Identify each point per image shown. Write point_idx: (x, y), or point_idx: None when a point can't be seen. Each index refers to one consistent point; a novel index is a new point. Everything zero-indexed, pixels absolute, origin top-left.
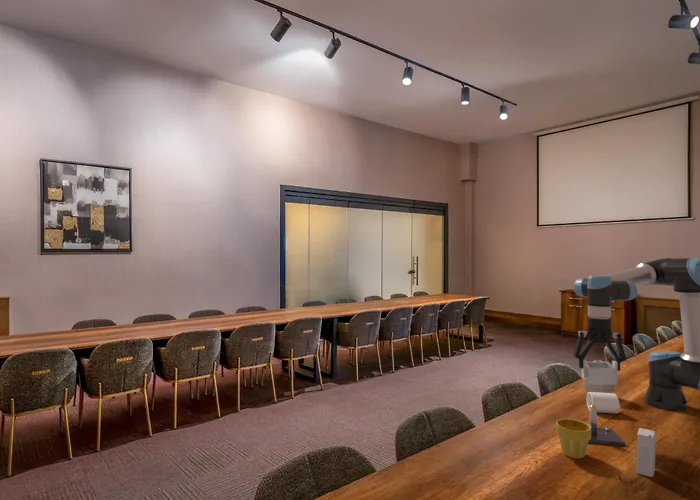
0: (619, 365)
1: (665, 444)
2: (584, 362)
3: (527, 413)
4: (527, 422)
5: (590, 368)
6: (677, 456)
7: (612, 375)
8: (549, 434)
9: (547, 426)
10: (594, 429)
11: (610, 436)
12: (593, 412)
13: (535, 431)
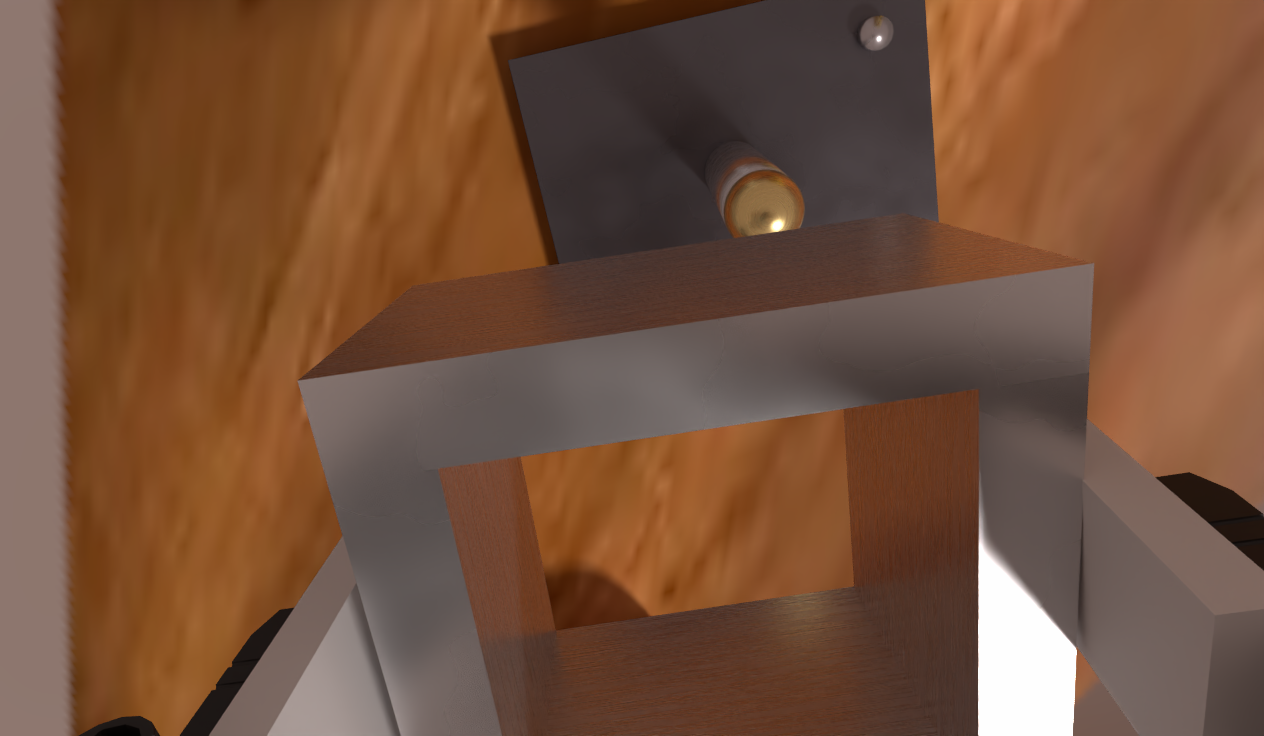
0: (214, 712)
1: (233, 233)
2: (1227, 553)
3: (1177, 469)
4: (1233, 267)
5: (998, 373)
6: (159, 13)
7: (453, 318)
8: (1101, 53)
9: (1074, 242)
10: (733, 146)
11: (606, 152)
12: (761, 163)
13: (1216, 74)
